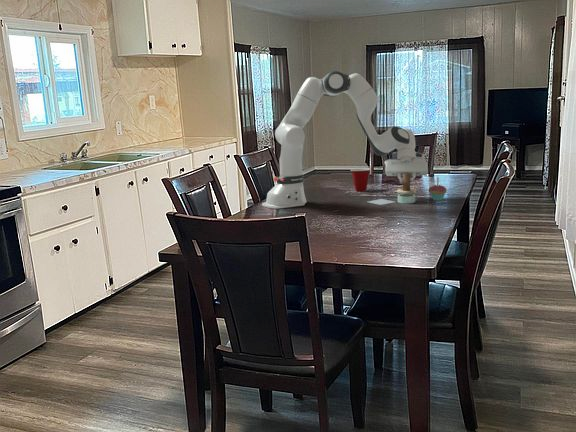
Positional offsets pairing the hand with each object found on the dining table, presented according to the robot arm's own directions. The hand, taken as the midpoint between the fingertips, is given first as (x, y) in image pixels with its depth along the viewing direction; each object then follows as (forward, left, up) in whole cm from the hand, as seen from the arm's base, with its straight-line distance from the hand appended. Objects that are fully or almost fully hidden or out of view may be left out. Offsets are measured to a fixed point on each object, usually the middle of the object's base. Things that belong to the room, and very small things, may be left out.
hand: (406, 181), depth 272 cm
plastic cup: (+5, +39, -10) cm, 41 cm away
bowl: (0, 0, -10) cm, 10 cm away
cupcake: (+15, -6, -10) cm, 19 cm away
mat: (-9, +8, -10) cm, 16 cm away
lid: (0, 0, -5) cm, 5 cm away
